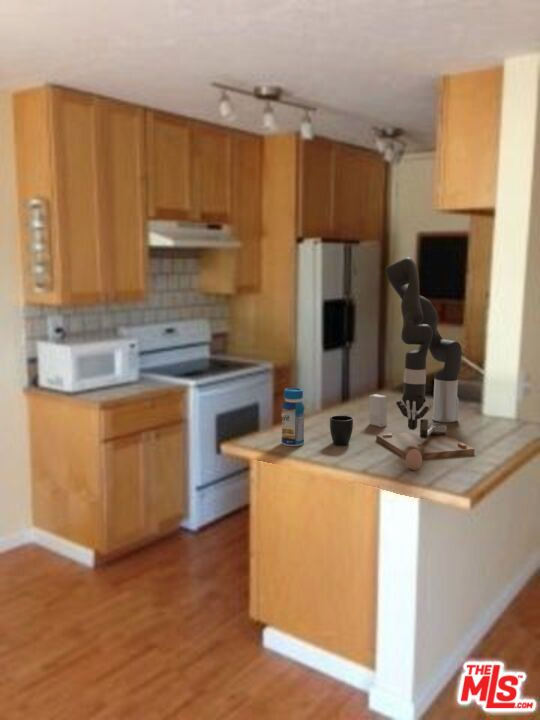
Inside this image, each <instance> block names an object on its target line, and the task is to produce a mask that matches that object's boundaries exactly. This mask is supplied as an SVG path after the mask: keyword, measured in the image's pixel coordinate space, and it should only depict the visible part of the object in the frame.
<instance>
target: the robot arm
mask: <svg viewBox="0 0 540 720" xmlns="http://www.w3.org/2000/svg"><path fill="white" fill-rule="evenodd" d="M418 269H419V268H418V267H417V264H416V263H415V261H414V260H413V259H412V257H409V256H407V257H404V258H402V259H400V260H398V261H395V262H393V263H391V264H389V265H388V266H386V268H385V269H384V271H385V276H386V278H387V279H388V282H389V283H390V285H391V286H392V288H393V289H394V291H395V292H396V293H397V295H398V296H399V298H400V299H401V303H400V309H401V315H402V319H403V320H402V321H403V324H402V328H401V329H402V330H401V340H402V341H403V343H404V344H406V345H419V347H418V348H417V349H414V350H410V351H407V352H406V353H405V362H404V373H403V389H402V390H403V391H402V392H403V395H402V397H401V398H402V399H399V400H398V401H396V406H397V407H398V409H399V411H400V412H401V414H402V416H403V417H405V418H407V427H408V429H409V430H410V431H414V430H416V429H417V427H418V420H421V419H423V418H424V416H425V415H427V413H428V412H429V411H430V410H431V409H432V421H435V422H437V423H454V422H458V420H459V407H460V406H459V404H460V402H459V401H460V398H459V397H458V383H459V375H460V372H461V364H462V353H463V352H462V351H463V350H462V345H461V343H460V342H458V341H456V340H450V339H444V338H443V337H442V336H441V334H440V332H439V331H438V324H439V315H438V312H437V310H436V308H435V307H434V305H433V303H432V302H431V300H429V299H427V298H426V297H425V296H422V295H420V294H421V293H420V275H419V270H418ZM406 285H407V287H406ZM428 352H430V354H431V356H432V358H433V360H435V361H437V362H441V363H444V365H443V368H442V369H440V370H436V371H435V372H434V380H433V381H434V385H433V405H430V404H428V403H427V401H426V398H425V397H426V396H425V395H426V383H427V382H426V381H427V370H426V369H427V356H428ZM432 407H433V408H432Z"/></svg>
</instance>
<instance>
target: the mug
mask: <svg viewBox="0 0 540 720" xmlns="http://www.w3.org/2000/svg"><path fill="white" fill-rule="evenodd" d="M353 428H354V418H353V417H352V416H350V415H349V416H348V415H347V414H346V415H341V414H340V415H337V414H336V415H332V416H330V418H329V431H330V436H331V440H332V443H333V445H334V446H341V447H342V446H343V447H344V446H348V445H349V444H350V440H351V437H352V434H353Z"/></svg>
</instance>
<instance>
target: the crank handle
mask: <svg viewBox="0 0 540 720" xmlns="http://www.w3.org/2000/svg"><path fill="white" fill-rule="evenodd" d="M419 421H420V423H419V432H420V437H421V438H422V439H427V438H428V437H429V436H430V435H445V434H446V435H447V432H448V431H447V429H448V426H447V425H446V424H445V423H442V422H429V420H428V419H427V418H420V419H419Z"/></svg>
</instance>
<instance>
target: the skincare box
mask: <svg viewBox="0 0 540 720" xmlns="http://www.w3.org/2000/svg"><path fill="white" fill-rule="evenodd" d="M368 404H369V411H368V412H369V415H368V417H369V421H368V423H369V425H372V426H376V427H379V428H383V427H386V426H387V425H388V396H387V395H382V394H377V393H375V394H369V402H368Z"/></svg>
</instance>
